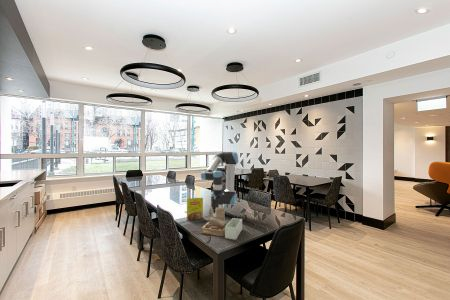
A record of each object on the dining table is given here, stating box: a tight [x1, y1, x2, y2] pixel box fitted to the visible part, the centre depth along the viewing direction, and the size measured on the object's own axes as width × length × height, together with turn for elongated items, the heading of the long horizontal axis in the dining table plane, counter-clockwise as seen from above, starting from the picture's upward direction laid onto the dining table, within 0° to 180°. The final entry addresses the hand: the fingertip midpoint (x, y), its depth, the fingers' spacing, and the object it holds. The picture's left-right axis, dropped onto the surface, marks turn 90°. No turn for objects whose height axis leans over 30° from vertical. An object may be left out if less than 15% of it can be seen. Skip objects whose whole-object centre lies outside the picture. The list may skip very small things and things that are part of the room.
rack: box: [200, 221, 228, 237], centre depth 177 cm, size 16×19×4 cm
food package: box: [186, 197, 204, 220], centre depth 206 cm, size 15×1×20 cm, turn 106°
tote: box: [224, 217, 243, 240], centre depth 171 cm, size 21×9×9 cm, turn 162°
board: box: [209, 206, 226, 226], centre depth 181 cm, size 2×12×18 cm, turn 72°
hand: (217, 214), depth 181 cm, fingers open, 13 cm apart
